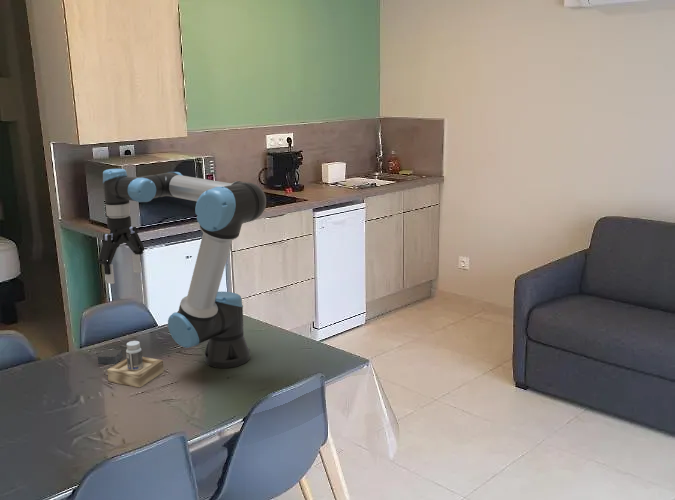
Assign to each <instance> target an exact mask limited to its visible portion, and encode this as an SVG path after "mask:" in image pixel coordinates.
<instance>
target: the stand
mask: <svg viewBox="0 0 675 500" xmlns="http://www.w3.org/2000/svg"><path fill="white" fill-rule="evenodd" d="M142 359H143V368H141V369H139V370H134V371H133V370H129V369H128V366H127V358H125V359H124V360H122V361H121V360H120V361H119V362H118V363H117V364H113V366H111V367H110V368H107V370H106V371H107V379H108V382H110V383H114V384H119V385H125V386H131V387H135V388H141V387H143V386H144V385H146V384H148V383H149V382H151V381H152V380H154V379H155V378H157V377H159V376H160V375H162V374H163V373H164V372H165V371H164V370H165V369H164V360H163V359H158V358H152V357H147V356H146V357H145V356H142Z"/></svg>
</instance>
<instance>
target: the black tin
mask: <svg viewBox="0 0 675 500" xmlns="http://www.w3.org/2000/svg"><path fill="white" fill-rule="evenodd" d="M123 358H124V356H123V349H103V350H102V351H101V353H100V354H98V355H97V363H98V365H116V364H118V363H120V362H121V360H122V359H123Z"/></svg>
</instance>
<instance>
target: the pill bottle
mask: <svg viewBox="0 0 675 500" xmlns="http://www.w3.org/2000/svg"><path fill="white" fill-rule="evenodd" d="M125 353H126V359H127V366H128V369H129V370H133V371H134V370H139V369H141V368H143V359H142V357H143V350H142V347H141V342H140V341H138V340H130V341H128V342H127V343H126V350H125Z"/></svg>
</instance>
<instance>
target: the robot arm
mask: <svg viewBox="0 0 675 500" xmlns="http://www.w3.org/2000/svg"><path fill="white" fill-rule="evenodd" d="M102 185H103V193H104V203H105V211H106V212H105V213H106V216H107V218H106V225H107V228H108V230H109V233H103V235H102V245H101V249H100V253H99V258H98V260H97V261H98V262H97V263H98V264H99V265H103V270H104V271H103V272H104V275H105V281H106V282H105V283H106V284H111V285H114V284H116V283H115V274H114V272H115V271H114V265H113V263H112V262H113V259H114V257H115V255H116V252H117V250H118V248H119V247H120V245H123V244H126V246H128V247H129V249H130V250H131V251H132V254H131V256H132V257H131V259H132V268H133V269H132V270H133V271H132V272H133V273H135V274H141V273H142V265H141V264H142V259H141V258H142V257H141V255H142V254H144V251H145V246H144V245H143V242H142V240H141V238H140V236H139V234H138V229H137V227H136V226H132V218H131V216H130V215H131V207H130V201H132V202H137V203H148V202H151V201H152V200H153V199H157V198H163V197H171V198H177V199H183V200H188V201H193V202H196V203H195V210H194V212H195V215H197V216H196V221H197V223H198V225H199V229H200V230H201V232H202V237H201V241H200V245H199V249H198V253H197V256H196V261H195V264H194V269H193V271H192V276H191V280H190V284H189V289H188V292H187V295H186V296H184V297H183V298H182V299H181V300H180V303H179V307H178V311H177V312H175V311H174V312H173V313H171V314H170V315H169V316H168V320H167V328H168V332H169V334H170V336H171V338H172V339H173V340H174V342H175V343H176V344H178V345H179V346H180V347H183V348H192V347H195V346H197V345H200V344H202V343H204V342H206V341H207V343H206V347H205V351H204V355H203V356H204V363H205V364H206V365H208V366H210V367H212V368H219V369H220V368H221V369H229V368H235V367H238V366H242V365H244V364H246V363H247V362H249V360H250V359H251V351H250V348H249V346H248V343H247V341H246V338H245V334H244V333H245V332H244V315H243V314H244V310H243V309H244V308H243V307H244V305H243V301H242V300H243V299H242V297H241V295H240V294H238V293H236V292H232V291H219V289H220V285H221V281H222V278H223V274H224V271H225V267H226V263H227V259H228V257H229V253H230V249H231V246H232V242H233V241H234V240H237V238H238V237H240V236H239V235H240V232H241V230H242V225H243V224H246V223H249V222H250V223H251V222H253V221H255V220H257V219H259V218H260V217H261V216H262V215H263V213H264V212H265V210H266V207H267V197H266V194H265V191H264V189H262V188H261V186H259V185H258V184H256V183H254V182H247V181H240V180H239V181H238V180H236V181H234V182H232V183H231V182H225V181H218V180H214V179H213V180H211V179H206V178H201V177H193V176H188V175H183V174H182V173H181V172H179V171H167V172H164V173H157V174H150V175H142V176H128V173H127V170H126V169H124V168H109V169H105V170H103V172H102Z"/></svg>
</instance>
